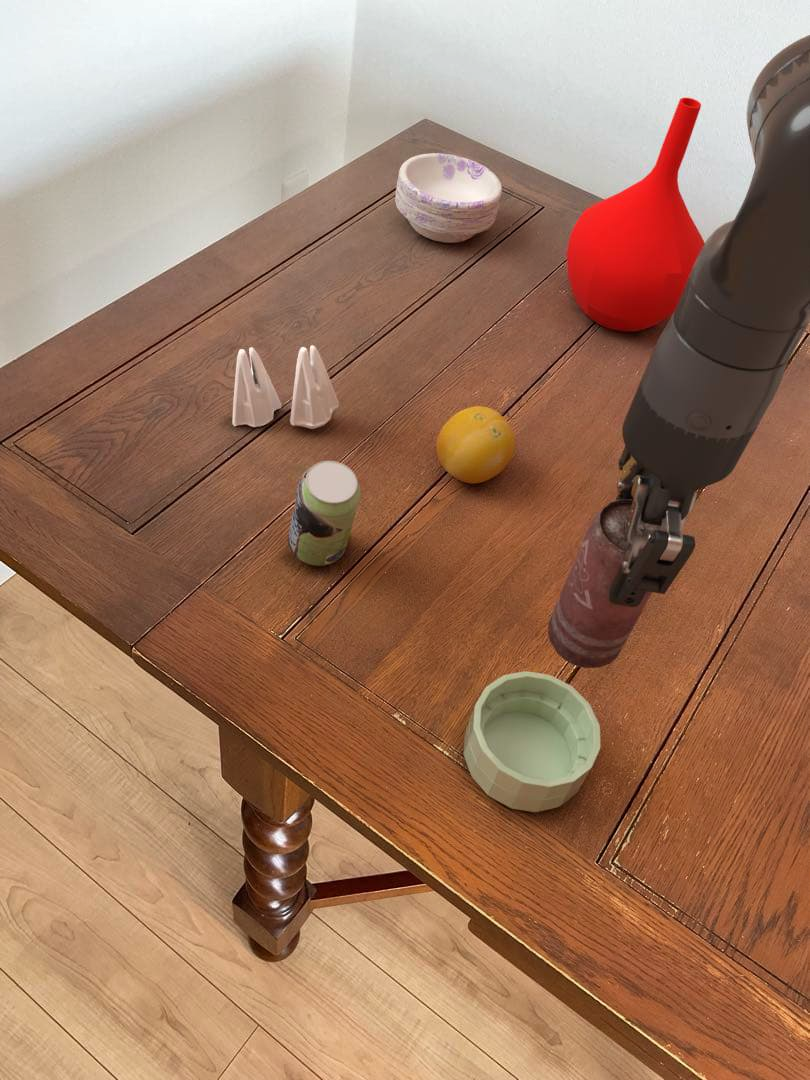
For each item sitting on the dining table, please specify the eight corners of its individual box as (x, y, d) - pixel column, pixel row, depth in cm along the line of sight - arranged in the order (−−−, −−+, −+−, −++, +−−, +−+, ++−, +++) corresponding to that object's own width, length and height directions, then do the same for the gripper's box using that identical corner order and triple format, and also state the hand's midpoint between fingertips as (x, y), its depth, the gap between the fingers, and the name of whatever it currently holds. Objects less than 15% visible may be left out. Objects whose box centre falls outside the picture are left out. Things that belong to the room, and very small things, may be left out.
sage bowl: (581, 713, 92) (598, 682, 88) (584, 823, 85) (602, 795, 81) (466, 694, 92) (477, 662, 88) (458, 803, 84) (470, 774, 80)
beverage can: (325, 518, 104) (334, 437, 95) (363, 564, 101) (377, 484, 92) (274, 540, 101) (279, 458, 92) (312, 588, 98) (321, 508, 89)
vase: (539, 326, 132) (602, 112, 110) (566, 259, 144) (628, 54, 122) (669, 367, 130) (760, 157, 108) (686, 295, 142) (771, 93, 120)
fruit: (476, 508, 108) (490, 456, 102) (419, 471, 111) (430, 419, 105) (518, 468, 113) (534, 417, 107) (462, 434, 116) (475, 382, 110)
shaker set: (337, 414, 115) (346, 339, 107) (335, 438, 112) (344, 363, 104) (236, 402, 114) (236, 326, 106) (231, 426, 111) (231, 350, 103)
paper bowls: (485, 203, 151) (496, 155, 145) (497, 259, 142) (509, 210, 136) (389, 194, 149) (395, 145, 143) (394, 250, 139) (402, 200, 133)
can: (589, 687, 76) (647, 576, 65) (530, 633, 78) (577, 518, 68) (636, 648, 79) (699, 536, 68) (579, 598, 81) (630, 482, 71)
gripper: (782, 486, 54) (677, 654, 67) (747, 332, 64) (662, 504, 76) (651, 463, 54) (571, 636, 66) (636, 312, 63) (569, 488, 76)
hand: (620, 565), depth 71 cm, fingers closed on can, 6 cm apart
